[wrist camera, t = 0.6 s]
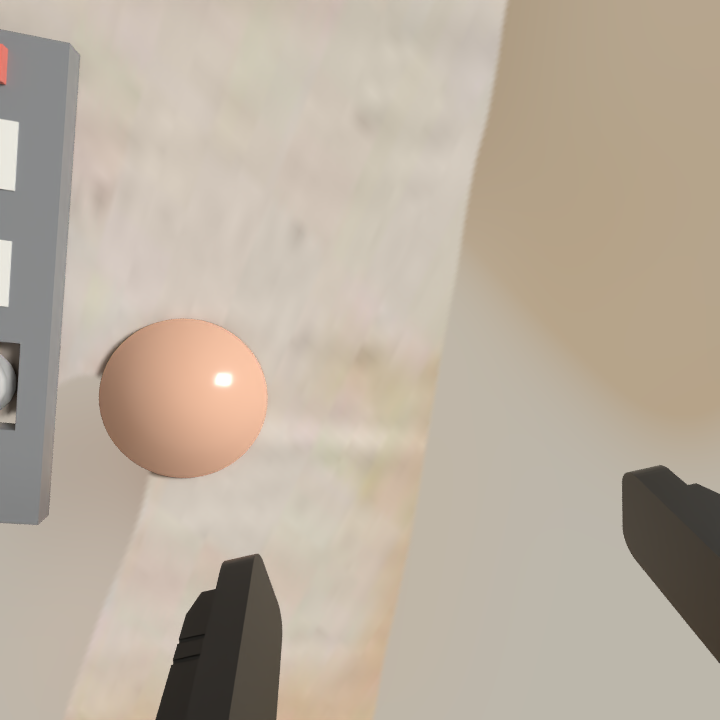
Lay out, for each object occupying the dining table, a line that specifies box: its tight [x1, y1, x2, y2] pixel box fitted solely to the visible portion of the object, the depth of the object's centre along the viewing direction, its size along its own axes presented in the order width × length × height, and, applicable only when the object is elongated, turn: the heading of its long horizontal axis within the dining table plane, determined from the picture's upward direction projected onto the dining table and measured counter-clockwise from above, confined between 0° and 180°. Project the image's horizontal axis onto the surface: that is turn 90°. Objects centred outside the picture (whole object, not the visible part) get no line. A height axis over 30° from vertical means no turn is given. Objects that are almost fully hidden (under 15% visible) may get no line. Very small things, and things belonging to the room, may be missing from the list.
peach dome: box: [99, 319, 267, 478], centre depth 34 cm, size 11×11×1 cm
